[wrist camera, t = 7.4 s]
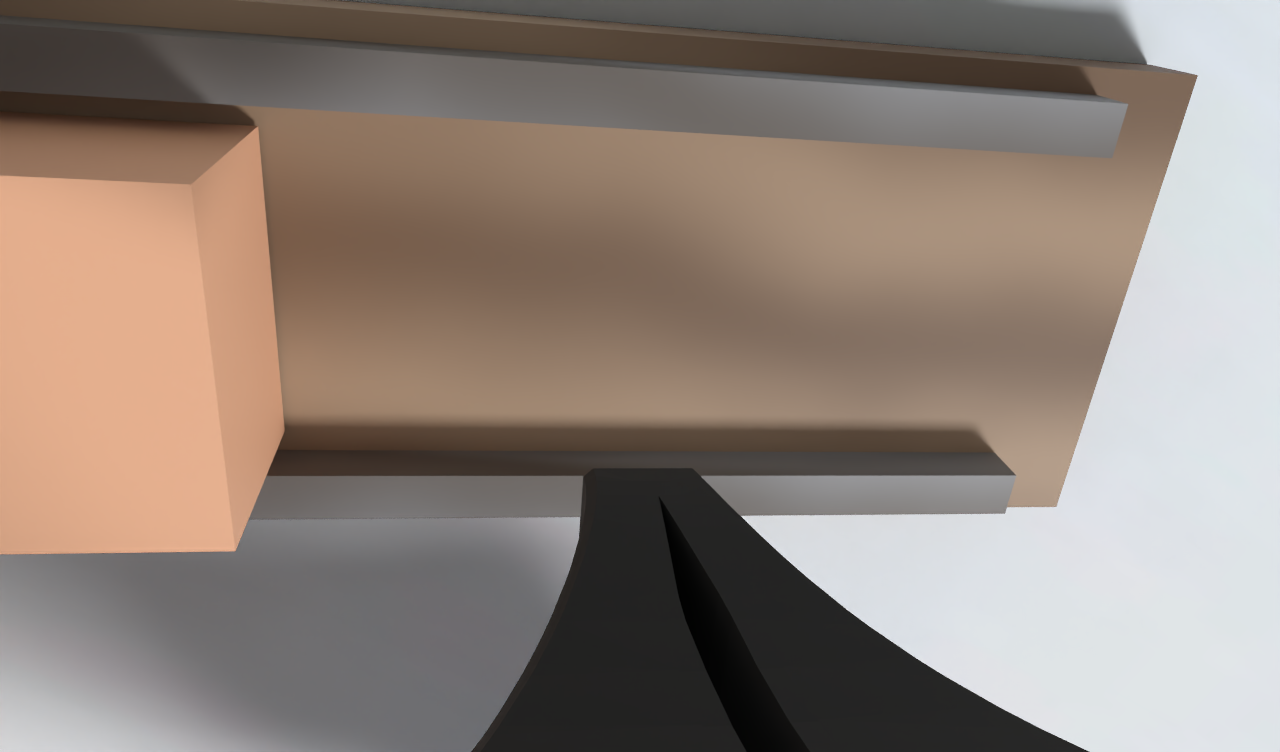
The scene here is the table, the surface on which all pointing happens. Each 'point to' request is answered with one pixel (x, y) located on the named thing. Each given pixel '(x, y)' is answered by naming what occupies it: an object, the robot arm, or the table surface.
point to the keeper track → (649, 247)
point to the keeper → (133, 335)
